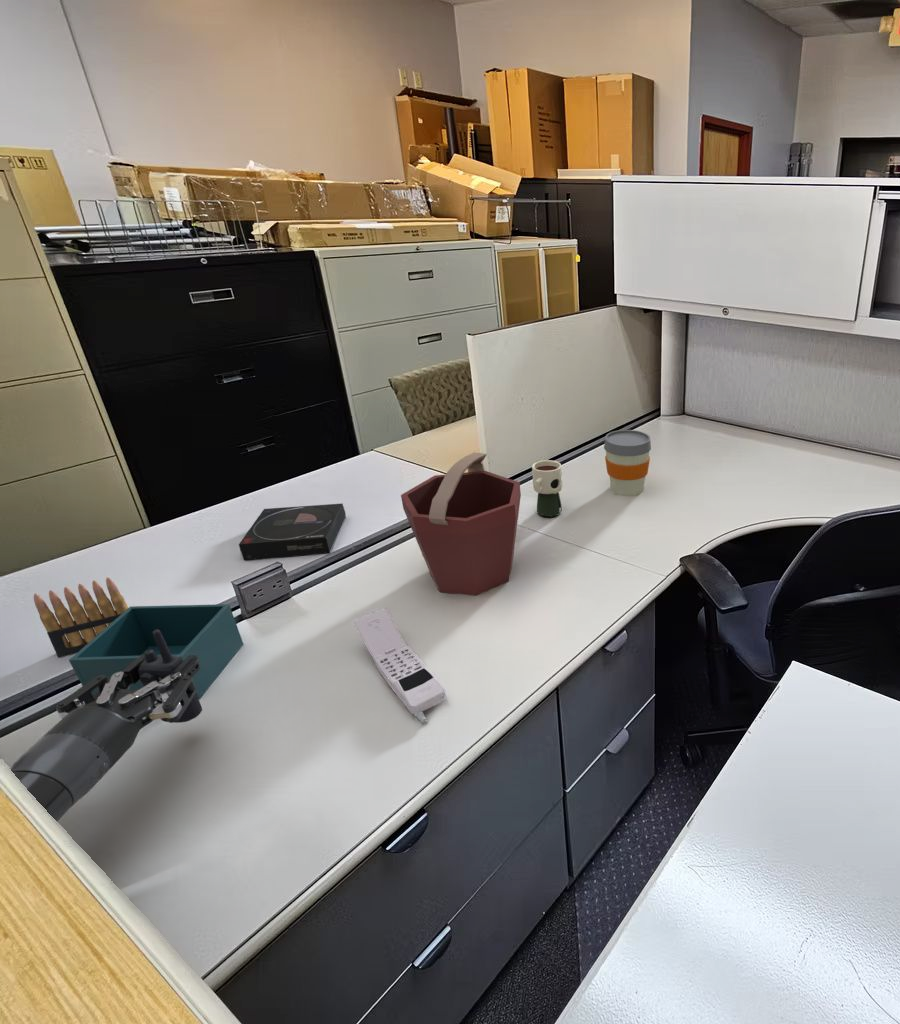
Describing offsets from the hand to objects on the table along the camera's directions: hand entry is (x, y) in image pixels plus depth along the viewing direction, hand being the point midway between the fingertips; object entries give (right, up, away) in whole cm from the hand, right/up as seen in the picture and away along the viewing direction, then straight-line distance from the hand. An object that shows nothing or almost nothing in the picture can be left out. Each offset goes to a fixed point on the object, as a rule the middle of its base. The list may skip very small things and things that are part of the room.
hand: (171, 659), depth 85 cm
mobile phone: (+24, -7, +17) cm, 31 cm away
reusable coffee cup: (+55, +27, +85) cm, 105 cm away
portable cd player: (-16, +14, +55) cm, 59 cm away
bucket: (+27, +7, +45) cm, 53 cm away
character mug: (+37, +20, +70) cm, 82 cm away
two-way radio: (0, -9, +2) cm, 9 cm away
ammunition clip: (-30, -2, +21) cm, 36 cm away
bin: (-13, -6, +16) cm, 21 cm away
